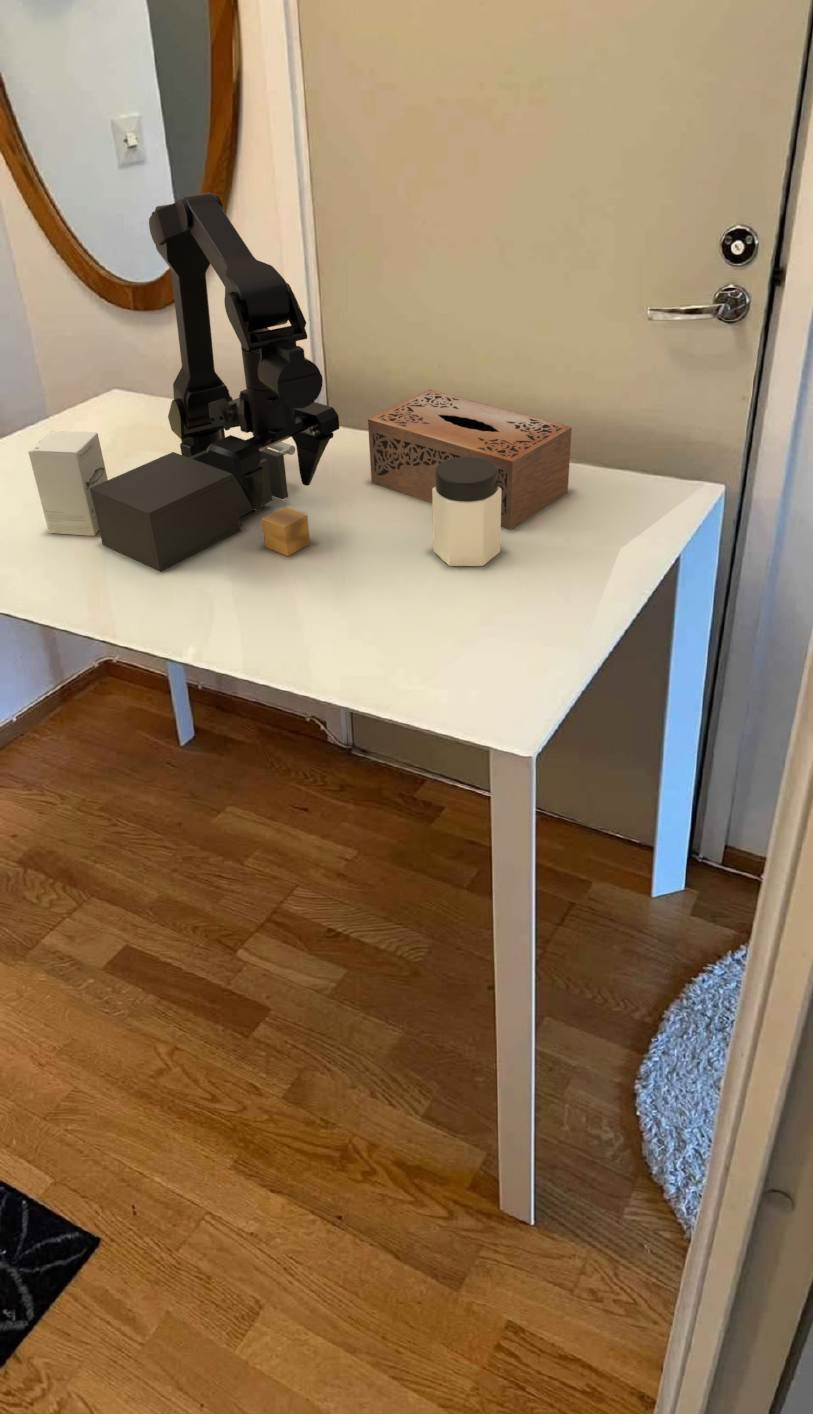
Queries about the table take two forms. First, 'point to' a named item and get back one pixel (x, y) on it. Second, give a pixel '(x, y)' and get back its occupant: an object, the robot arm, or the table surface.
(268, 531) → the block
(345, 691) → the table surface
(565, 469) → the tissue box cover
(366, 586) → the table surface
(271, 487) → the dark brown drawer
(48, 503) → the white packaging box
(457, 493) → the jar
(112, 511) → the brown drawer box
